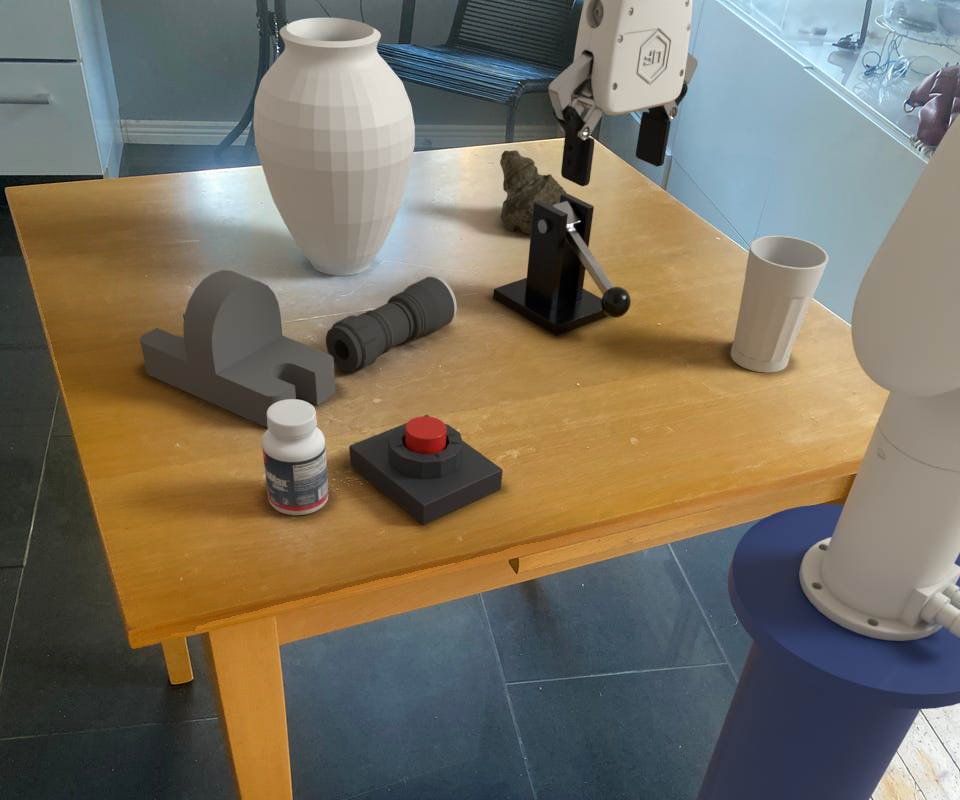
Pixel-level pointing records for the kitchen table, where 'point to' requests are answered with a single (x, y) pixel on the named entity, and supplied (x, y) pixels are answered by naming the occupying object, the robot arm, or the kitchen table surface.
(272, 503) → the pill bottle
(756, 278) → the cup
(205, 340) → the bracket
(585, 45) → the robot arm
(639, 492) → the kitchen table surface
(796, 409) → the kitchen table surface
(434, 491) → the button block
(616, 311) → the lever
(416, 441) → the button
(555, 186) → the brown rock
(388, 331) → the flashlight
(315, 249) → the vase
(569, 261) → the bracket
